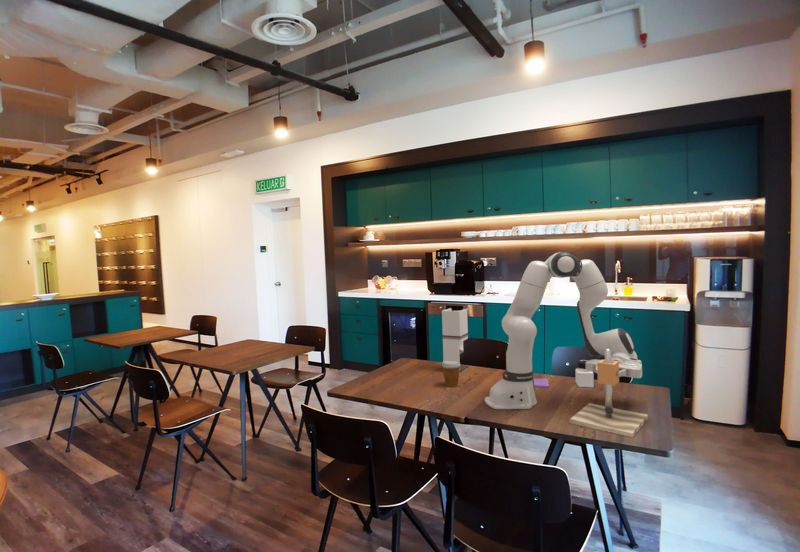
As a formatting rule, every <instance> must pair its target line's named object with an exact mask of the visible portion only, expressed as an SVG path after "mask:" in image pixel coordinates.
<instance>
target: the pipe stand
mask: <svg viewBox="0 0 800 552" xmlns="http://www.w3.org/2000/svg"><path fill="white" fill-rule="evenodd" d="M612 408H613V413H612V418H607V417H605V405H600V404H599V405H598V404H594V403H587V404H586V405H585V406H584V407H582V408H581V409H580V410H579V411H578V412H576V414H574V415H573V416H571V417H570V418H569V424H573V425H577V426H580V427H581V426H582V427H586V428H590V429H594V430H597V431H603V432H606V431H607V433H611V432H612V434H616V435H620V436H625V437H628V438H634V437H635V435H636V434H637V433H638V432H639V430H640V429H641V428H642V427H643V425H644V424H645V423H646V422H647V421H648V418H649V416H648V414H646V413H640V412H636V411H632V410H624V409H622V408H616V407H612Z"/></svg>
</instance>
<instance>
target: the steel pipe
mask: <svg viewBox="0 0 800 552" xmlns="http://www.w3.org/2000/svg"><path fill="white" fill-rule="evenodd" d="M612 355H613V354H612V352H611V349H605V356H604V360H605V363H610V364H612ZM604 397H605V398H604V406H605V417H607V418H612V413H613V408H614V407H613V386H612V385H606V384H604Z"/></svg>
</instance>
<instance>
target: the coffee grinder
mask: <svg viewBox="0 0 800 552" xmlns="http://www.w3.org/2000/svg"><path fill="white" fill-rule="evenodd" d="M441 319H442V320H441V325H442V326H441V327H442V353H443V354H442V357H443V358H442V359H443V361H446V360H457V361H459V362H460V359H461V358H460V355H461V354H463V353H464V341H466V340H468V338H469V333H468V331H469V328H468V308H465V309H464V308H463V309H461V310H453V309H452V308H451V307H449V308H447V309H443V310H441ZM443 361H442V362H443ZM467 369H468V370H469V369H470V365H468V364H467V365H466V364H461V365H460V368H459V373H462V372H464V371H465V372H467V371H468V370H467ZM466 370H467V371H466ZM465 372H464V373H465ZM462 374H463V373H462Z"/></svg>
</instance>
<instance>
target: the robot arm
mask: <svg viewBox="0 0 800 552" xmlns="http://www.w3.org/2000/svg"><path fill="white" fill-rule="evenodd" d="M552 278H559V279H561V278H562V279H563V278H572V279H573V281H574V283H575V284H576V287H577V290H578V293H579V300H578V301H577V303H576V311H577V315H578V320H579V324H580V327H581V332H582V337H583V343H584V349H585V351H586V353H587V355H589V356H591V357H593V359H590V360H589V359H588V360H587V362H586V370H587V371H592V372H593V373H595V374H598V367H597V363H598V362H599V361H601V360H602V359H599V358H601V357H605V349H611V352H612V361H619V371H616V376H619V378H621V377H627V378H634V379H641V378H642V377H643V363H642V360H640V359H638V355H637V352H636V351H635V344H634V339H633V338H632V336H631V334H630V333H629V332H628V331H626V330H624V329H623V328H620V327H618V328H615V329H614V328H613V329H610V330H607V331H603V332H599V333H595V330H594V327H593V322H592V318H591V313H592V312H593V311H594V309H595V308H597V307H598V306H599V305H601V304H602V303H603V302H604V301H605V300H606V299H607V296H608V292H609V289H608V285H607V283H606V281H605V278H604V277H603V275H602V272H601V271H600V269H599V268H598V265H596V263H595V262H594V261H593V260H591V259H586V258H585V259H579V258H578V257H577V256H575V255H574V254H572V253H570V252H568V251H558V252H556V253H555V252H554V253H553V254H551V255H550V256H548V257H547V258H546V259H545V260H544V261H541V260H533V261H530V263H528V265H527V267H526V268H525V270H524V272H523V275H522V277H521V280H520V283H519V284H518V288H517V290H516V294H515V296H514V299H513V301H512V302H511V304H510V305H509V308H508V309H507V312H506V314H505V315H504V316H503V318H502V319H501V327H502V330H503V331H504V333H505V334H506V335H507V336H508V344H507V349H506V353H505V356H506V358H505V361H506V362H505V363H506V364H505V365H506V367H505V368H506V369H505V370H502V369H499V371H498V374H499V375H500V376H502V378H501V379H500V380H499V381H498V382H495V384H494V385H492V386H491V387H490V390H489V396H486V397H484V403H485V404H486V405H487V406H488V407H490V408H491V409H494V410H530V409H532V408H533V406H536V405H537V403H538V401H537V398H536V393H535V389H534V377H535V376H534V370H533V350H534V349H533V348H534V343H535V338H536V336H537V334H538V331H537V330H538V329H537V326H536V324H535V323H534V321H533V320H532V318H533V316H534V314H535V313H536V311H537V310H538V309H539V308H540V306H541V303H542V301H543V298H544V295H545V292H546V289H547V286H548V283H549V281H550V280H551V279H552Z"/></svg>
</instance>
